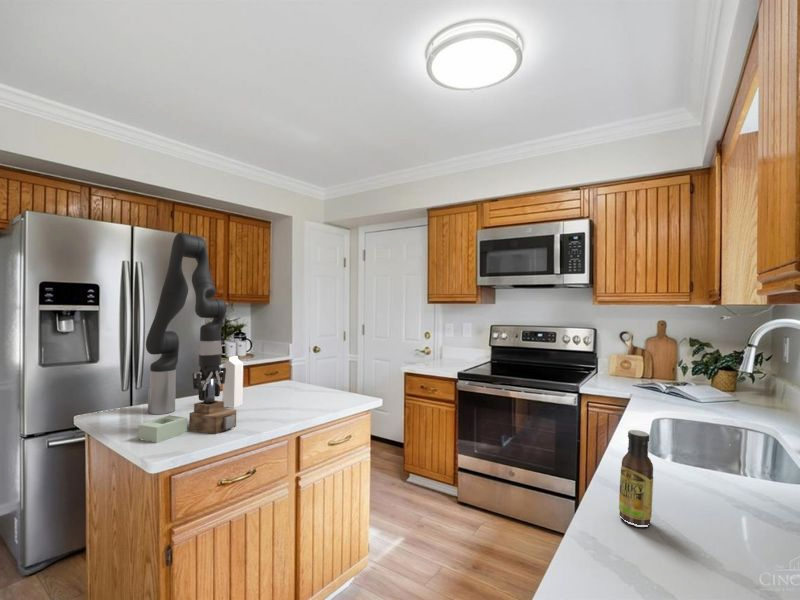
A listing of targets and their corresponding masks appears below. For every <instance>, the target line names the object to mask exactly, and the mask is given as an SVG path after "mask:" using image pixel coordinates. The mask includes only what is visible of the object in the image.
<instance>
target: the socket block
mask: <svg viewBox="0 0 800 600" xmlns="http://www.w3.org/2000/svg"><path fill="white" fill-rule="evenodd" d="M230 415H235V427H237V409H235V408H226V407H224V401H222V400H215V403H214V404H210V405H208V404H204V401H200V402H196V403H194V404H193V411H192V412H189V420H188V422H189V427H188V429H189V431H195V432H201V433H206V434H212V435H213V434H215V435H217V434H219V433H222V432H225V431H227V430H230V429H232V428H235V427H234V426H233V427H231V428H228V429H223V417H225V416H230Z"/></svg>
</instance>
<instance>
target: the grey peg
mask: <svg viewBox="0 0 800 600" xmlns="http://www.w3.org/2000/svg"><path fill="white" fill-rule="evenodd" d="M205 390H206V397H205V400H204V404H208V405H210V404H214V403H215V399H216V396H215V378H212V379H210V381H209V383H208V384H207V386H206V388H205Z"/></svg>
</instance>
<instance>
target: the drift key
mask: <svg viewBox="0 0 800 600" xmlns="http://www.w3.org/2000/svg"><path fill="white" fill-rule="evenodd" d="M233 426H235V415H230V416H225V417H223V429H227V430H229V429H228V428H230V429H232V428H234V427H233ZM231 427H232V428H231ZM235 427H236V426H235Z"/></svg>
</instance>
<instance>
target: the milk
mask: <svg viewBox="0 0 800 600" xmlns="http://www.w3.org/2000/svg"><path fill="white" fill-rule="evenodd" d="M222 368H226V375H225V383H224V384H222V399H221V401H224V408H226V407H228V408H227V409H236V408H238V407H241V406H243V401H244V400H243V399H244V396H243V393H244V391H243V390H244V362H243V361H242V360H240V359H239V356H238V355H233V356H229V358H228V360H227V361H225V362H224V363H223V364H222ZM240 405H241V406H240ZM235 407H236V408H235Z"/></svg>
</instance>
